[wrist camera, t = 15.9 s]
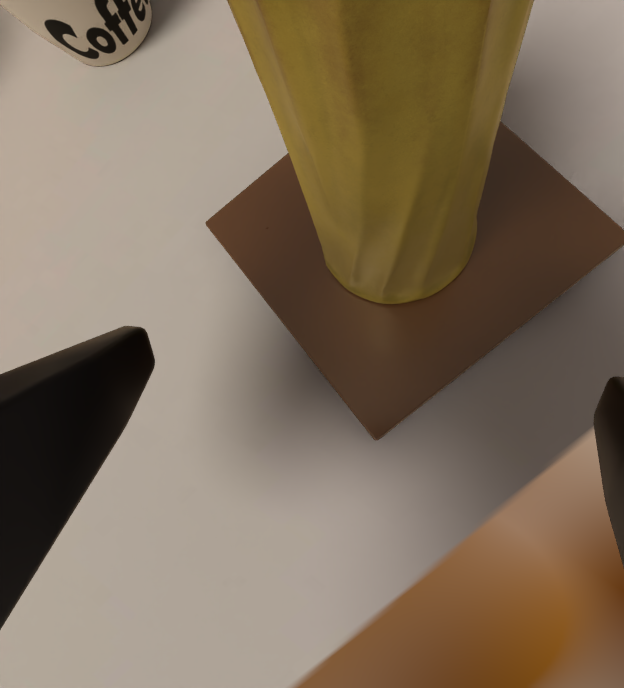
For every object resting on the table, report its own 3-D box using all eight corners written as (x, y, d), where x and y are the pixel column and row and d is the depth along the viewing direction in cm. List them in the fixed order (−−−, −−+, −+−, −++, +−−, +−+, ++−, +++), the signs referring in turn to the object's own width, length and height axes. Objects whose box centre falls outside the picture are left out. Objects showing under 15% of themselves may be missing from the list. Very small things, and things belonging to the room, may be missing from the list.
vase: (293, 223, 19) (23, -273, 6) (411, 135, 19) (424, -618, 5) (378, 336, 18) (285, 20, 4) (509, 242, 18) (881, -445, 4)
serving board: (621, 247, 18) (633, 236, 17) (377, 440, 18) (375, 441, 17) (415, 63, 21) (415, 45, 20) (213, 231, 21) (203, 222, 20)
